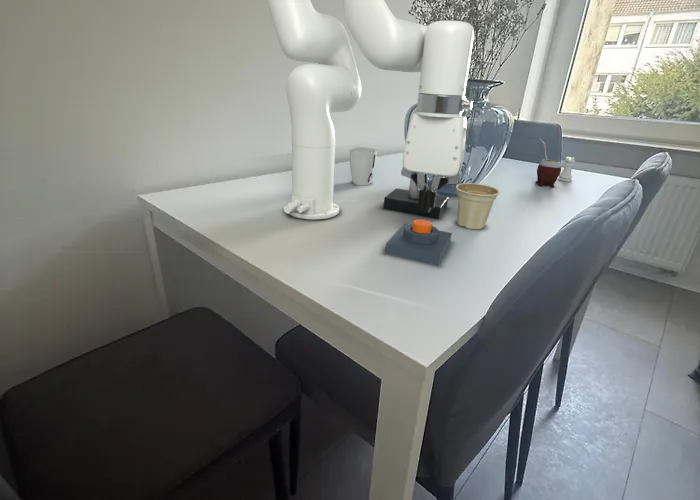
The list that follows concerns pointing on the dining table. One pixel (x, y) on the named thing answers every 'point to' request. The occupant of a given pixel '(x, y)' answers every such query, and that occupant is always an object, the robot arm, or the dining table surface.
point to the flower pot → (474, 204)
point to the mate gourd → (548, 170)
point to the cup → (362, 164)
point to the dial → (414, 190)
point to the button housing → (419, 244)
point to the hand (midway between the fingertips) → (425, 210)
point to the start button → (422, 226)
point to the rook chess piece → (567, 170)
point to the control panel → (413, 204)
